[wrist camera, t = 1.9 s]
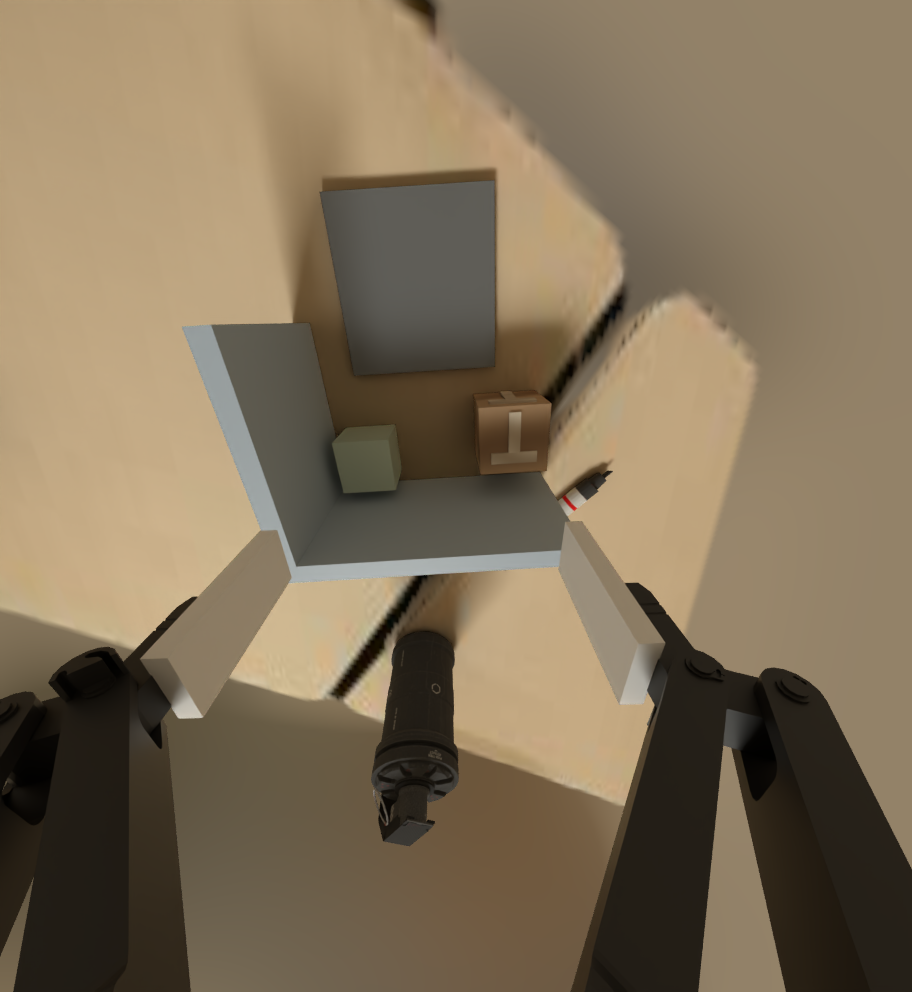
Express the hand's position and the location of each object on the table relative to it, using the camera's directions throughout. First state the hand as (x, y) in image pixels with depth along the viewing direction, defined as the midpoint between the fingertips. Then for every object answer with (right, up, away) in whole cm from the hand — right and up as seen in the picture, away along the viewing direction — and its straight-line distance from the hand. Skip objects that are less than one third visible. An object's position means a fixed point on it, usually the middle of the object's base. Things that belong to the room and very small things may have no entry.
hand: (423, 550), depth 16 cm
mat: (-2, +20, +13) cm, 24 cm away
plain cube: (-7, +7, +20) cm, 22 cm away
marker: (+13, +1, +24) cm, 27 cm away
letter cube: (+6, +10, +19) cm, 22 cm away
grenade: (-4, -21, +35) cm, 40 cm away
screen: (-2, +11, +18) cm, 21 cm away
